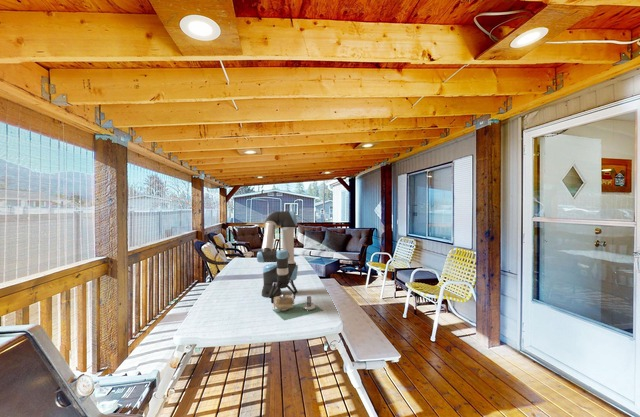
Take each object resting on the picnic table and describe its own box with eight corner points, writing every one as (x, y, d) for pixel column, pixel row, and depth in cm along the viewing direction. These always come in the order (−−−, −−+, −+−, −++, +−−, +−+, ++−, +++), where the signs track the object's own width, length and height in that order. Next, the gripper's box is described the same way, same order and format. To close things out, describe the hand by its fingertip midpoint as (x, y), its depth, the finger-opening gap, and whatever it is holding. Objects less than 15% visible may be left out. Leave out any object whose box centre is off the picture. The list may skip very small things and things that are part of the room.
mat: (272, 310, 191) (272, 309, 191) (309, 301, 205) (309, 301, 205) (284, 321, 174) (284, 320, 174) (323, 311, 188) (323, 310, 188)
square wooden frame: (274, 305, 192) (274, 297, 192) (287, 303, 197) (286, 294, 197) (279, 310, 185) (279, 301, 185) (292, 307, 189) (292, 298, 189)
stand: (276, 309, 192) (276, 294, 192) (286, 306, 196) (286, 292, 195) (280, 312, 186) (280, 297, 186) (290, 310, 190) (290, 295, 189)
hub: (301, 308, 193) (301, 296, 193) (311, 305, 197) (311, 294, 197) (306, 311, 186) (306, 299, 186) (317, 309, 190) (317, 297, 190)
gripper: (266, 278, 181) (267, 311, 181) (302, 272, 193) (302, 303, 194) (262, 275, 187) (263, 307, 188) (297, 270, 200) (298, 300, 200)
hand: (283, 305), depth 191 cm, fingers open, 13 cm apart
